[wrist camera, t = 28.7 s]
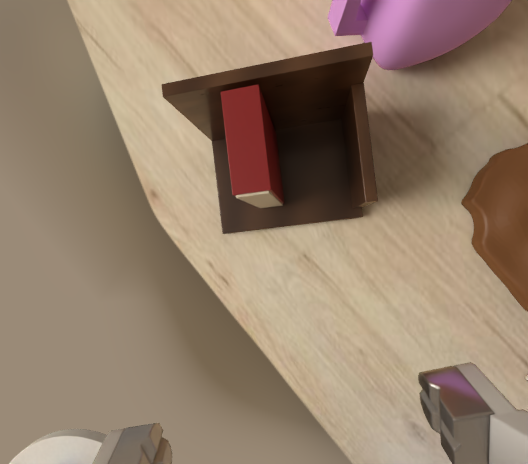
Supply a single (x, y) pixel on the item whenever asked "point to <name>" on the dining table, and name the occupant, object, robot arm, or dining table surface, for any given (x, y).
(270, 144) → the book
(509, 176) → the plant
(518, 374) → the dining table surface
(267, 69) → the book stand
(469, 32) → the teapot
